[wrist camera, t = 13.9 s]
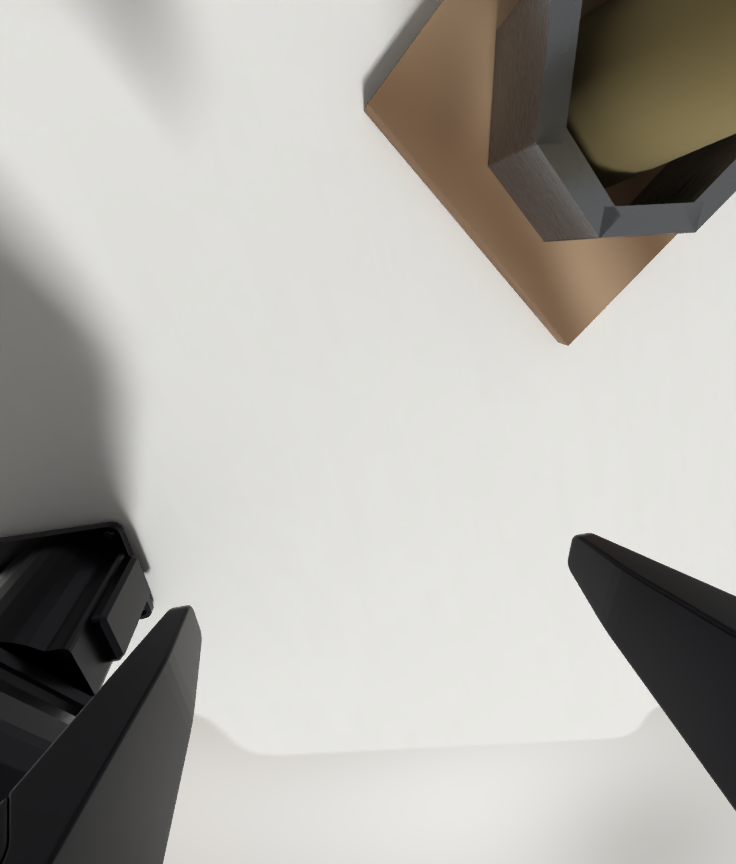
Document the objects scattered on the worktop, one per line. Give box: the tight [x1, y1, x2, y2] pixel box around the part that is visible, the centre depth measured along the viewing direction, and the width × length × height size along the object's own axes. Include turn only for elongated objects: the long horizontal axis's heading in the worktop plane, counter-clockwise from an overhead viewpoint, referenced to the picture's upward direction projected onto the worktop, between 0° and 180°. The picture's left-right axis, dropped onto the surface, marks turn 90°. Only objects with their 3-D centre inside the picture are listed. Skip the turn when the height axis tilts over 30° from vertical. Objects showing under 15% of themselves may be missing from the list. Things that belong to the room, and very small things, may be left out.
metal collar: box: [488, 0, 736, 242], centre depth 14 cm, size 10×10×4 cm
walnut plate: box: [364, 0, 677, 345], centre depth 16 cm, size 14×14×1 cm
